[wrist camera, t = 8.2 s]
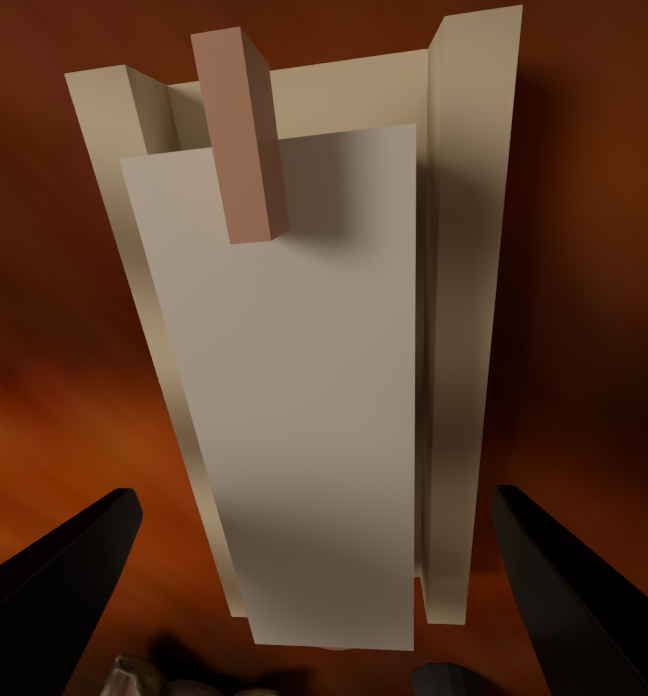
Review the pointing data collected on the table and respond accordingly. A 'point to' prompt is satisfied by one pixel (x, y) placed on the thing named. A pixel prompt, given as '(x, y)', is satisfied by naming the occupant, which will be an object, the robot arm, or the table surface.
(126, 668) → the ceramic sculpture
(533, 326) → the table surface
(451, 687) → the robot
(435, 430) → the cradle
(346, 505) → the white bar with tab
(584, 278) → the table surface
